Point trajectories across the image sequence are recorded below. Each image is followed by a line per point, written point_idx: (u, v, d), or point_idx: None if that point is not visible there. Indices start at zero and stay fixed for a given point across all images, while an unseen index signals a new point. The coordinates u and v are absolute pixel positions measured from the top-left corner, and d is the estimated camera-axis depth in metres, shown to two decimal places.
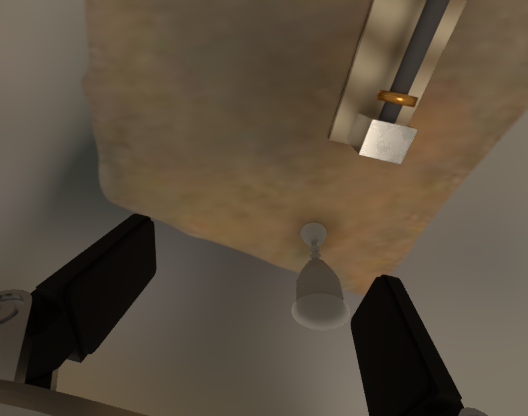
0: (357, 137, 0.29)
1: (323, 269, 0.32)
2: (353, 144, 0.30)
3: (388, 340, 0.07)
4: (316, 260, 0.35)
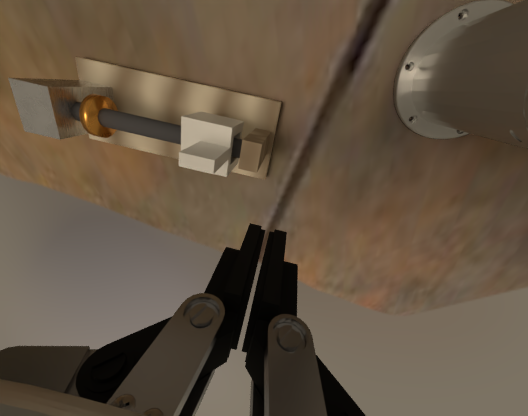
0: (54, 81, 0.25)
1: None
2: (50, 79, 0.25)
3: (259, 277, 0.08)
4: None
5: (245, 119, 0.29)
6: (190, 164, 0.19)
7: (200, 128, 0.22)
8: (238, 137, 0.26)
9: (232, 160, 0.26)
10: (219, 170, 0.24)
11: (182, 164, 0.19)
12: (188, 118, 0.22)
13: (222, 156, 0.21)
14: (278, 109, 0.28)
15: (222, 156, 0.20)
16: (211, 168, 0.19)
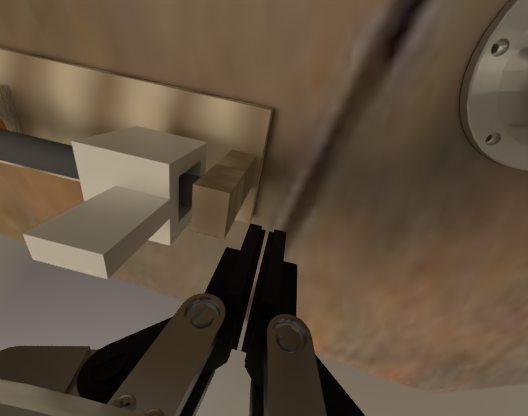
0: None
1: None
2: None
3: (258, 277, 0.08)
4: None
5: (215, 136, 0.18)
6: (54, 258, 0.08)
7: (110, 164, 0.11)
8: (197, 170, 0.15)
9: (187, 209, 0.15)
10: (156, 235, 0.13)
11: (38, 257, 0.09)
12: (85, 145, 0.11)
13: (142, 227, 0.10)
14: (267, 121, 0.17)
15: (140, 227, 0.10)
16: (100, 269, 0.08)
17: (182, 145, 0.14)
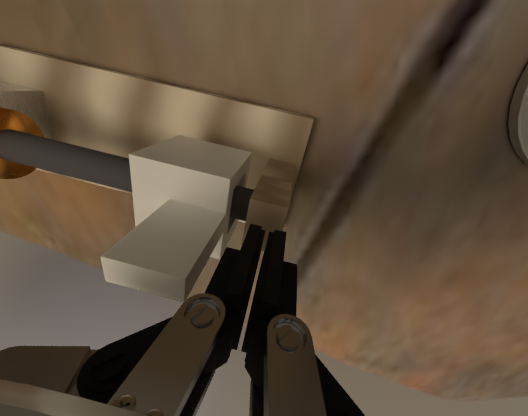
0: None
1: None
2: None
3: (258, 277, 0.08)
4: None
5: (253, 144, 0.18)
6: (130, 281, 0.08)
7: (167, 177, 0.11)
8: (242, 180, 0.15)
9: (231, 221, 0.15)
10: None
11: (112, 279, 0.08)
12: (143, 158, 0.11)
13: (208, 245, 0.10)
14: (308, 130, 0.17)
15: (207, 246, 0.09)
16: (178, 292, 0.08)
17: (231, 156, 0.13)
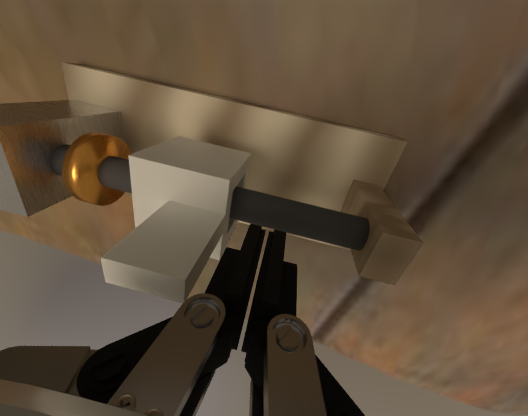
0: (19, 109, 0.14)
1: None
2: (14, 104, 0.14)
3: (258, 277, 0.08)
4: None
5: (338, 165, 0.18)
6: (130, 282, 0.08)
7: (167, 179, 0.11)
8: (241, 181, 0.15)
9: (230, 221, 0.15)
10: None
11: (112, 280, 0.08)
12: (142, 159, 0.11)
13: (208, 246, 0.10)
14: (400, 152, 0.16)
15: (207, 247, 0.10)
16: (178, 293, 0.08)
17: (230, 157, 0.13)
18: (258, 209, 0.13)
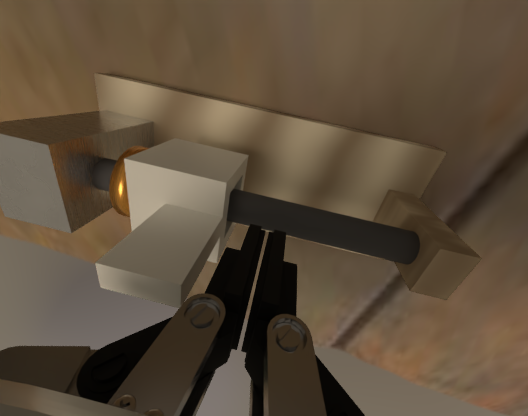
0: (60, 123, 0.13)
1: None
2: (53, 117, 0.14)
3: (258, 277, 0.08)
4: None
5: (374, 175, 0.17)
6: (125, 287, 0.08)
7: (163, 182, 0.11)
8: (239, 183, 0.15)
9: (228, 224, 0.15)
10: None
11: (108, 285, 0.08)
12: (138, 163, 0.11)
13: (205, 250, 0.10)
14: (438, 162, 0.16)
15: (204, 250, 0.09)
16: (175, 298, 0.08)
17: (227, 159, 0.13)
18: (307, 223, 0.13)
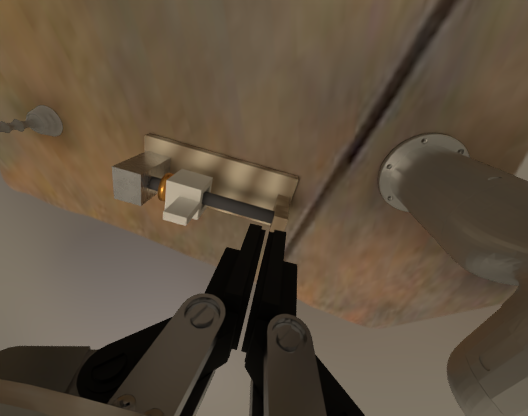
0: (136, 162, 0.34)
1: None
2: (132, 159, 0.34)
3: (258, 277, 0.08)
4: None
5: (270, 187, 0.39)
6: (170, 219, 0.29)
7: (179, 188, 0.32)
8: (208, 189, 0.36)
9: (203, 205, 0.36)
10: (192, 215, 0.34)
11: (165, 218, 0.29)
12: (171, 181, 0.31)
13: (193, 211, 0.30)
14: (296, 184, 0.38)
15: (193, 211, 0.30)
16: (184, 222, 0.29)
17: (203, 180, 0.34)
18: (232, 206, 0.34)
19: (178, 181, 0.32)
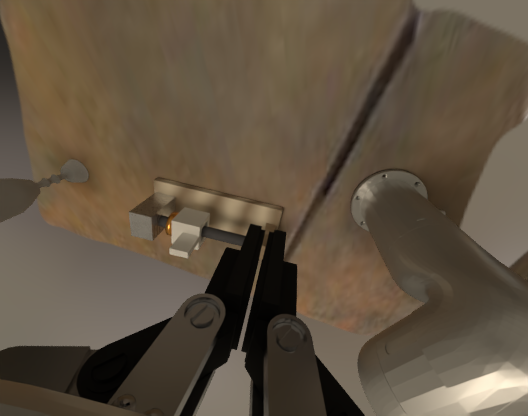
0: (147, 205, 0.42)
1: (23, 200, 0.37)
2: (144, 202, 0.42)
3: (258, 277, 0.08)
4: (35, 188, 0.39)
5: (259, 218, 0.46)
6: (175, 253, 0.36)
7: (182, 226, 0.39)
8: (206, 223, 0.43)
9: (203, 237, 0.43)
10: None
11: (171, 253, 0.36)
12: (175, 221, 0.39)
13: (193, 245, 0.38)
14: (280, 214, 0.45)
15: (193, 245, 0.38)
16: (186, 256, 0.36)
17: (201, 216, 0.42)
18: (226, 237, 0.41)
19: (181, 220, 0.39)
